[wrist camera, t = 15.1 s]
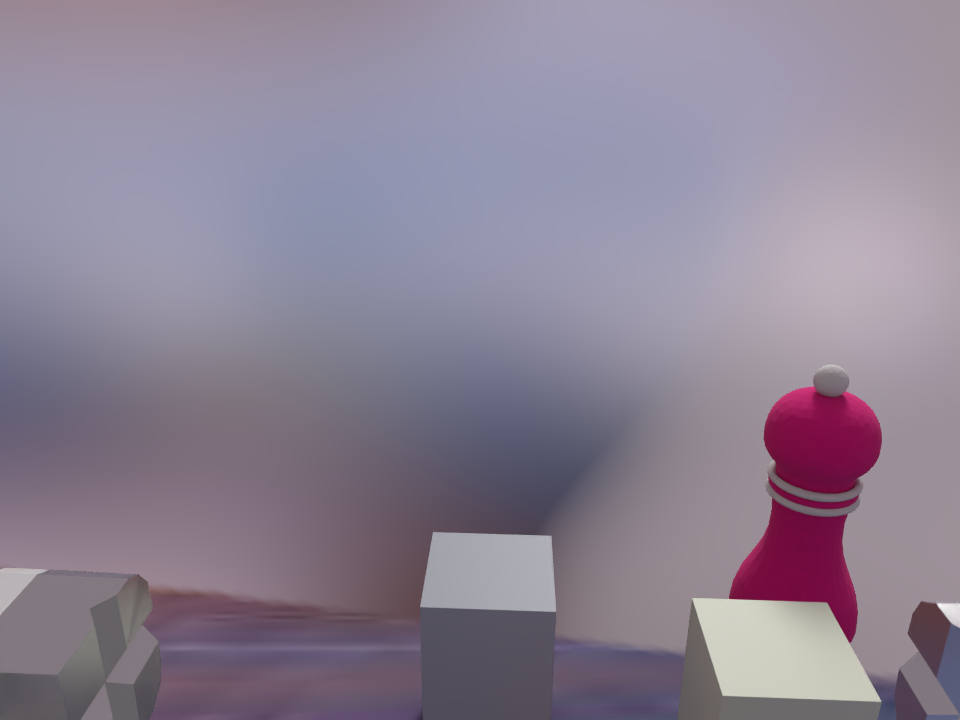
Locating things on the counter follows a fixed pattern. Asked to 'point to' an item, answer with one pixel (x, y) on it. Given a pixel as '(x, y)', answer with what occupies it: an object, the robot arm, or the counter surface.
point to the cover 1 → (488, 627)
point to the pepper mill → (812, 496)
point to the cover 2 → (771, 664)
